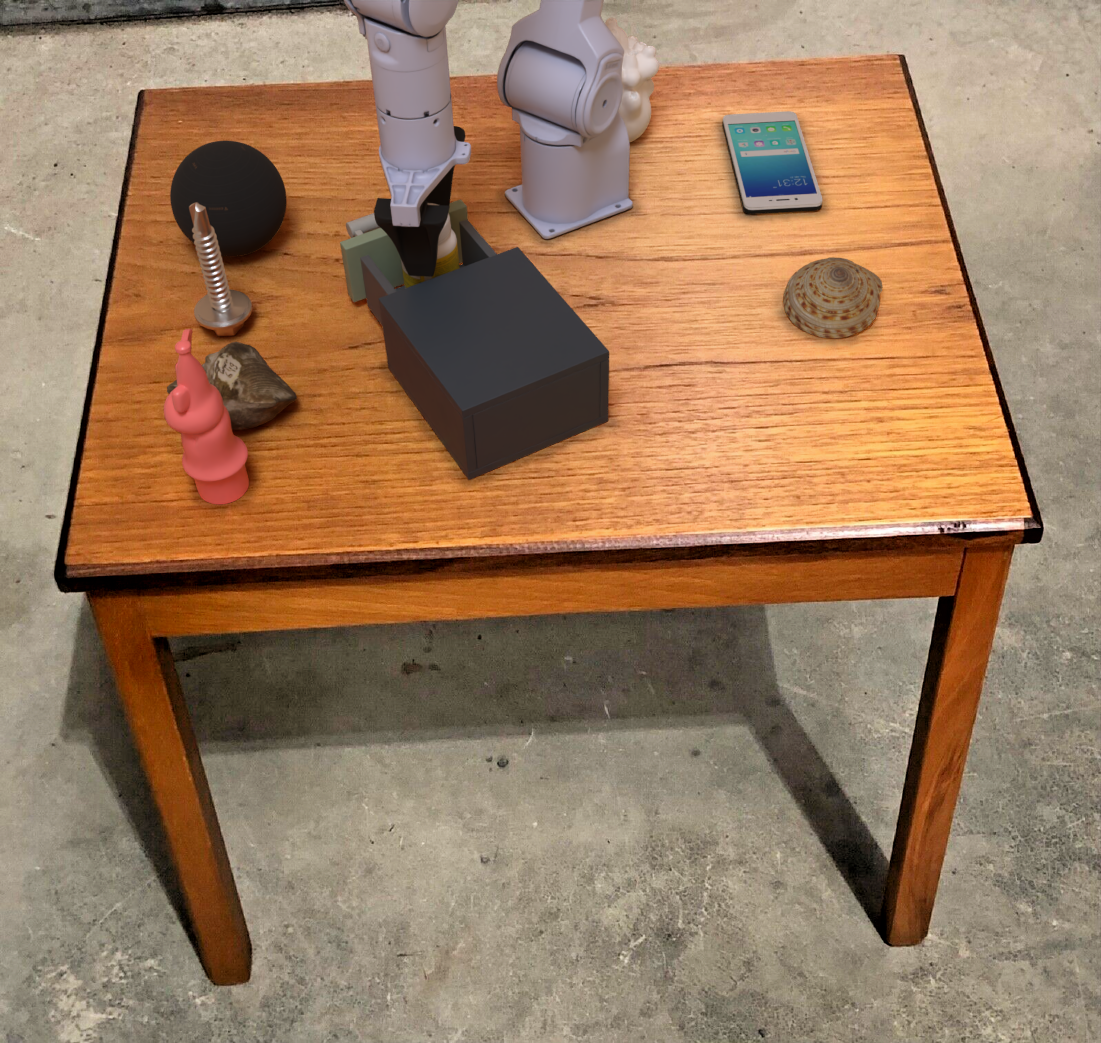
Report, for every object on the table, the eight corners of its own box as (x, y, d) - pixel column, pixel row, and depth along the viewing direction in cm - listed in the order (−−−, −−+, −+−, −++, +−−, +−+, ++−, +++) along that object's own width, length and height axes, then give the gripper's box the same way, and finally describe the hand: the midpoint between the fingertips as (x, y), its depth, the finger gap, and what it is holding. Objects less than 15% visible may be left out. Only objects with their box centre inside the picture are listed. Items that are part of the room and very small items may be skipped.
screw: (202, 309, 125) (258, 307, 125) (195, 347, 121) (252, 344, 121) (169, 185, 115) (230, 183, 115) (160, 223, 111) (223, 220, 112)
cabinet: (388, 368, 119) (378, 298, 113) (521, 316, 123) (517, 246, 117) (468, 480, 111) (462, 410, 105) (608, 421, 115) (609, 351, 109)
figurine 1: (191, 462, 113) (146, 318, 101) (257, 458, 113) (219, 313, 101) (186, 512, 109) (139, 368, 98) (253, 506, 110) (214, 362, 98)
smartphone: (796, 110, 141) (825, 203, 131) (795, 117, 141) (824, 211, 131) (720, 114, 140) (744, 208, 131) (720, 121, 141) (743, 215, 131)
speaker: (219, 295, 126) (195, 201, 118) (163, 240, 131) (137, 147, 123) (315, 248, 130) (298, 155, 122) (258, 196, 135) (238, 104, 127)
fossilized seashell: (143, 409, 113) (253, 460, 112) (162, 332, 111) (275, 384, 109) (192, 389, 120) (296, 438, 118) (212, 317, 118) (318, 365, 116)
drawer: (328, 267, 126) (318, 214, 122) (443, 226, 130) (438, 172, 126) (416, 389, 116) (409, 335, 112) (539, 340, 120) (537, 287, 115)
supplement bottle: (464, 280, 123) (457, 200, 117) (459, 316, 120) (452, 236, 114) (409, 279, 124) (399, 199, 117) (402, 315, 120) (392, 235, 114)
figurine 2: (669, 144, 139) (674, 32, 130) (612, 168, 137) (614, 55, 127) (626, 111, 143) (629, -1, 134) (571, 133, 140) (570, 21, 131)
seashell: (897, 262, 123) (879, 285, 117) (880, 323, 126) (862, 350, 119) (805, 238, 126) (783, 260, 119) (791, 299, 128) (768, 323, 122)
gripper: (452, 157, 102) (465, 303, 112) (478, 46, 111) (487, 190, 122) (355, 153, 102) (376, 299, 113) (388, 43, 112) (405, 187, 122)
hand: (428, 243), depth 117 cm, fingers open, 7 cm apart
